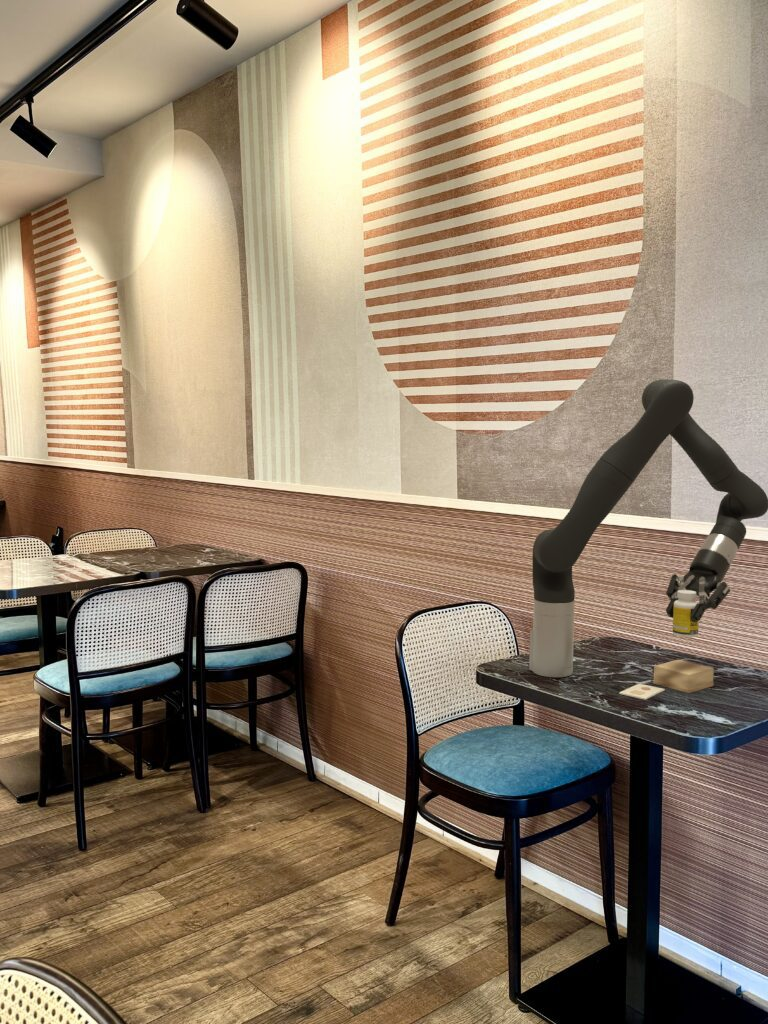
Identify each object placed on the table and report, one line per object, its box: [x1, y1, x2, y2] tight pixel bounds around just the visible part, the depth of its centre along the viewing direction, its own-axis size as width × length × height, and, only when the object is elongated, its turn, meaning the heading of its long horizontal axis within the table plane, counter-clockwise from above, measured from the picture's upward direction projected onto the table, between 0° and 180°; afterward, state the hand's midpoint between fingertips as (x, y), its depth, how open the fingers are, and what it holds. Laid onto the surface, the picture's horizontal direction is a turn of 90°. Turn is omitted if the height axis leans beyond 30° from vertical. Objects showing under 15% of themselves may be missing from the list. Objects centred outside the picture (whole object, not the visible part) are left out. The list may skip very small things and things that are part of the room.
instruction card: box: [619, 683, 666, 701], centre depth 194 cm, size 6×9×1 cm, turn 137°
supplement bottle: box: [672, 589, 700, 639], centre depth 198 cm, size 5×5×10 cm
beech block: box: [652, 659, 715, 694], centre depth 200 cm, size 9×9×4 cm
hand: (681, 617), depth 197 cm, fingers closed on supplement bottle, 5 cm apart
